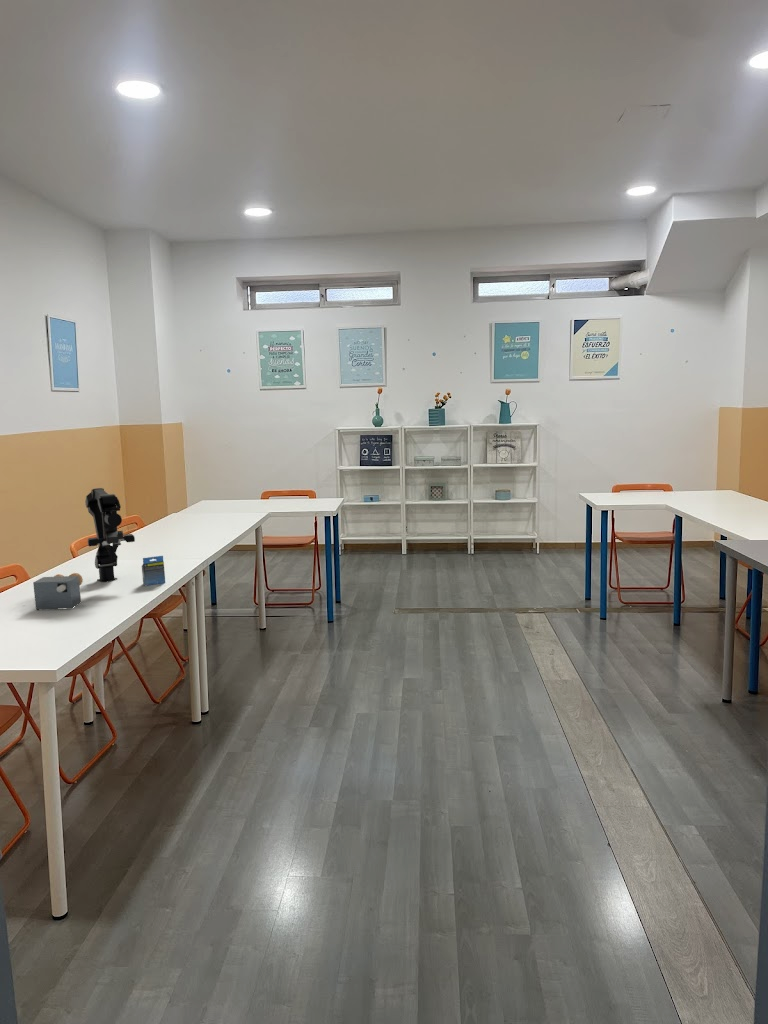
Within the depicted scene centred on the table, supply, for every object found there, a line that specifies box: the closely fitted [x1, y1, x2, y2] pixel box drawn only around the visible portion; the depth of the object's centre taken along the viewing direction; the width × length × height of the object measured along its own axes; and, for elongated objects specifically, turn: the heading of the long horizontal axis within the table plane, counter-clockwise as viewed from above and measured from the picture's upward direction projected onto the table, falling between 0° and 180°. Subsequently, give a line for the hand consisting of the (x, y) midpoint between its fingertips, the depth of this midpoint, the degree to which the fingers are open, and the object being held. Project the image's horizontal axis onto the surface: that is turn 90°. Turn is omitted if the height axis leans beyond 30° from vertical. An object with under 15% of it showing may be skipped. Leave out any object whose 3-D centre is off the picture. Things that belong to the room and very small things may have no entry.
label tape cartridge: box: [141, 555, 166, 586], centre depth 327 cm, size 9×4×12 cm, turn 119°
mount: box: [33, 574, 82, 610], centre depth 296 cm, size 13×14×11 cm
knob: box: [57, 572, 84, 593], centre depth 294 cm, size 16×6×6 cm, turn 1°
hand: (112, 559), depth 322 cm, fingers closed
